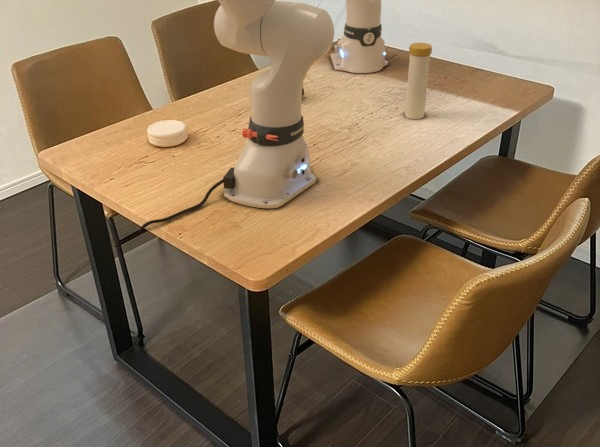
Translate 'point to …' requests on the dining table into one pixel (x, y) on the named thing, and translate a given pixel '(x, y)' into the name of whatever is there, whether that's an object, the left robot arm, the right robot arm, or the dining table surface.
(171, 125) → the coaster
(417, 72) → the jar
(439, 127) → the dining table surface
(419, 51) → the lid
